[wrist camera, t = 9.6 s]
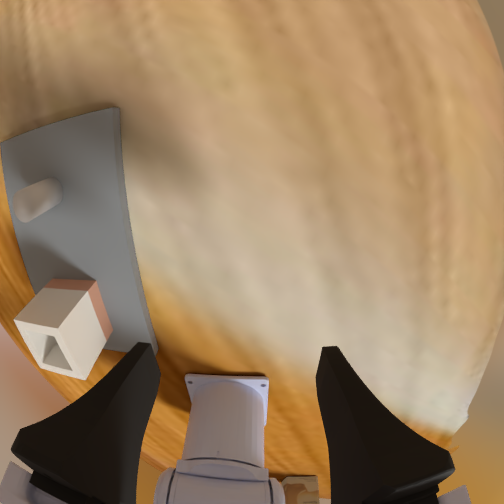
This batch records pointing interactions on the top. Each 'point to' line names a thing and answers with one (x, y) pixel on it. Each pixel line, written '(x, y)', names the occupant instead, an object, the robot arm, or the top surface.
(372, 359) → the top surface
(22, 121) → the top surface
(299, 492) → the skincare box
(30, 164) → the pin board
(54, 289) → the sleeve
